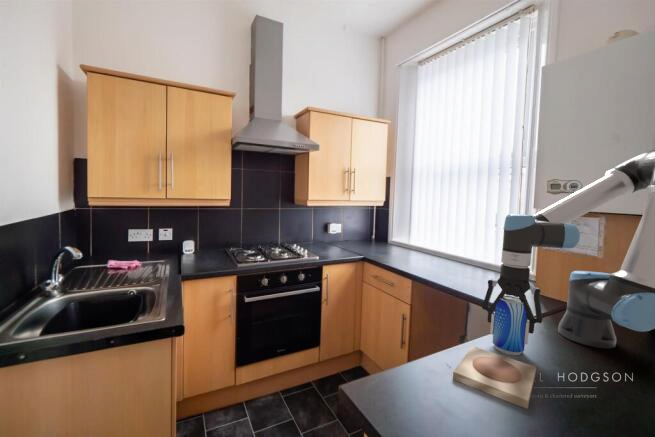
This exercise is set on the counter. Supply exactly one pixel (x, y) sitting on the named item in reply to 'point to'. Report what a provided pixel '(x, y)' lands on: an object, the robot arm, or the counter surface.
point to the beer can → (509, 325)
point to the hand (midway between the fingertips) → (508, 337)
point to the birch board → (497, 375)
